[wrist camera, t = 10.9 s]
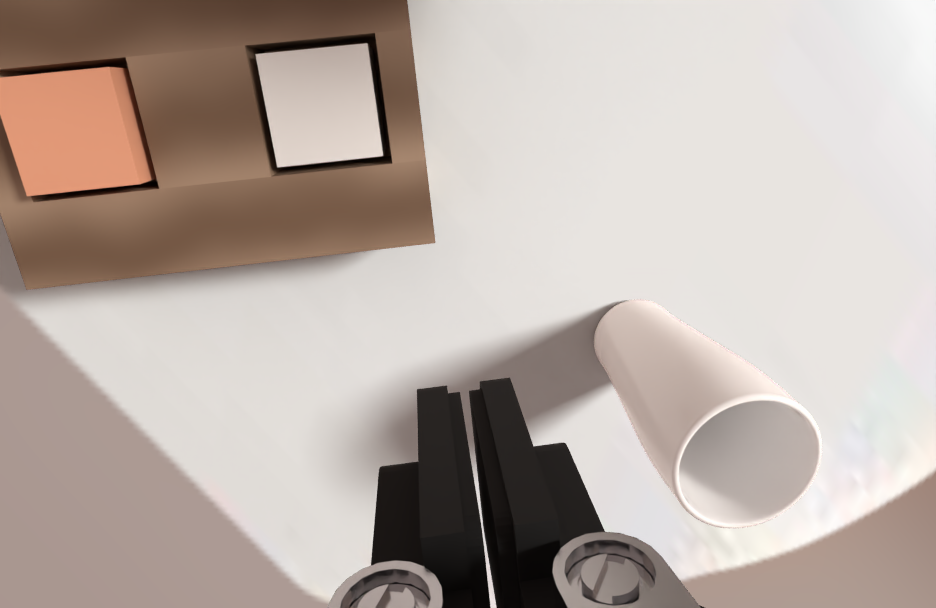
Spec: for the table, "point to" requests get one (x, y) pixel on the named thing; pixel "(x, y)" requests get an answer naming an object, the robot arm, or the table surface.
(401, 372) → the table surface
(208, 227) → the walnut block
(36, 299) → the table surface
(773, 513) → the drinking glass
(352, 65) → the white plug
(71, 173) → the terracotta plug
